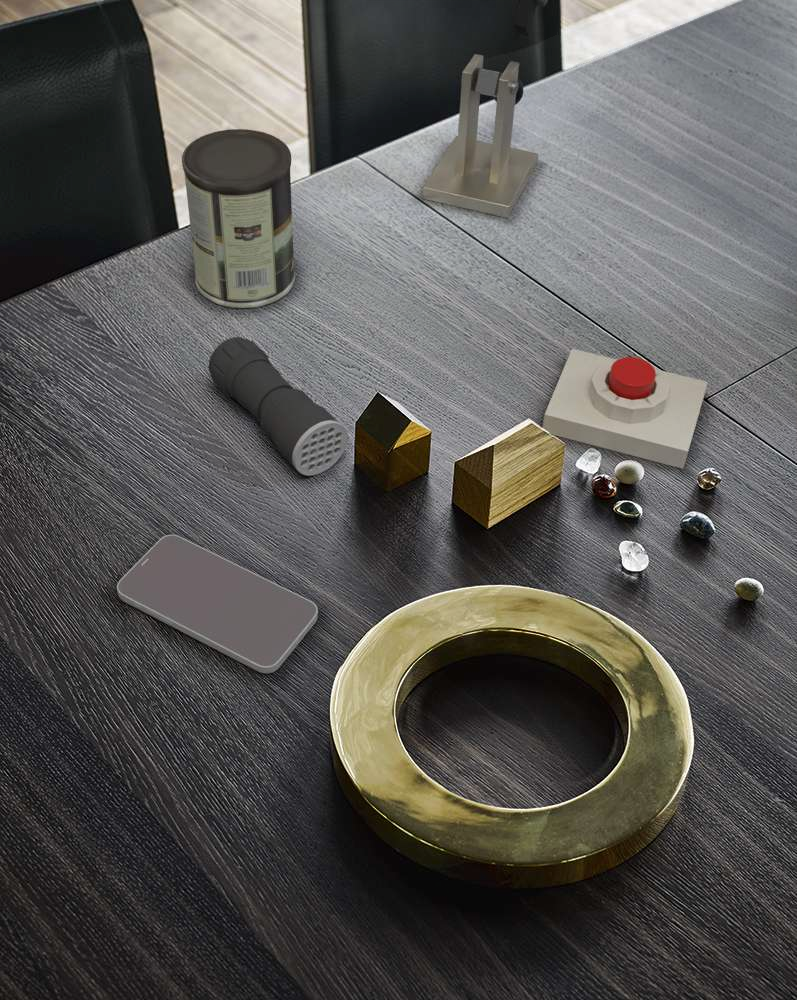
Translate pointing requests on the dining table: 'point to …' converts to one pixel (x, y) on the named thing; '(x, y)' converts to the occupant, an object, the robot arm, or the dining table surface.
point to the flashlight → (278, 406)
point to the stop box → (625, 411)
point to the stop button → (631, 378)
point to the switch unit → (483, 153)
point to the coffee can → (240, 217)
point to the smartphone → (218, 603)
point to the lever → (494, 84)
